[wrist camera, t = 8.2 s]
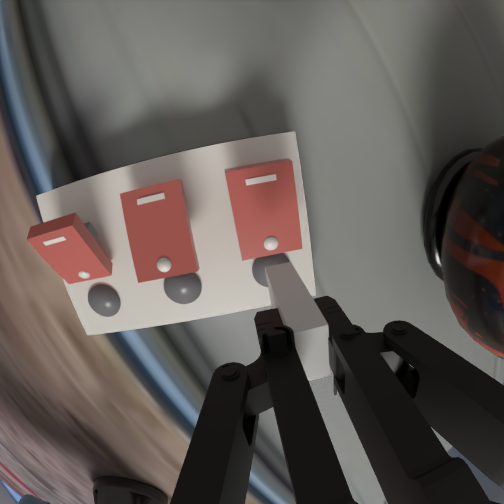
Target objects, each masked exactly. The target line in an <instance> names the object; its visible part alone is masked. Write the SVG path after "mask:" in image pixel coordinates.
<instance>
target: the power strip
mask: <svg viewBox="0 0 504 504" xmlns="http://www.w3.org/2000/svg"><path fill="white" fill-rule="evenodd" d="M286 158H289V159H290V160H292V163H293V171H294V178H295V186H296V194H297V203H298V211H299V220H300V229H301V238H302V248H303V249H299V250H294V251H289V252H284V253H279V254H274V255H269V256H264V257H259V258H254V259H249V260H244V261H242V257H241V252H240V247H239V242H238V237H237V232H236V227H235V222H234V217H233V212H232V207H231V202H230V197H229V192H228V186H227V181H226V176H225V171H224V169H228V168H233V167H239V166H244V165H250V164H255V163H261V162H267V161H273V160H279V159H286ZM177 179H180V180H182V182H183V188H184V193H185V199H186V204H187V209H188V214H189V220H190V225H191V230H192V235H193V239H194V244H195V249H196V254H197V259H198V263H199V268H200V269H199V270H198V272H193V273H188V274H183V275H178V276H172V277H167V278H162V279H157V280H152V281H146V282H141V283H138V280H137V276H136V272H135V268H134V263H133V259H132V254H131V250H130V245H129V240H128V235H127V230H126V225H125V220H124V215H123V209H122V203H121V198H120V194H121V193H124V192H128V191H132V190H136V189H140V188H144V187H147V186H151V185H156V184H160V183H164V182H168V181H172V180H177ZM36 198H37V201H38V205H39V209H40V212H41V216H42V219H43V223H44V222H47V221H50V220H53V219H56V218H59V217H62V216H66V215H69V214H72V213H75V212H76V213H77V215H78V216H79V218H80V219H81V221H82V222H83V223H87V222H90V223H91V224H92V226H93V227H94V229H95V230H96V232H97V238H96V242H97V243H98V244H99V246H100V247H101V249H102V250H103V251H104V253H105V254H106V255H107V257H108V258H109V259H110V261H111V262H112V263H113V266H112V276H107V277H102V278H97V279H93V280H88V281H83V282H78V283H73V284H68V283H67V282H66V281H65V280H64V279H63V281H64V283H65V286H66V288H67V291H68V293H69V296H70V298H71V300H72V303H73V305H74V307H75V310H76V312H77V314H78V316H79V319H80V321H81V323H82V325H83V327H84V329H85V331H86V334H87V335H95V334H103V333H111V332H118V331H126V330H133V329H140V328H146V327H153V326H159V325H166V324H172V323H178V322H184V321H190V320H196V319H202V318H207V317H213V316H218V315H224V314H229V313H234V312H240V311H245V310H250V309H255V308H260V307H265V306H270V305H271V301H270V295H269V289H268V283H267V277H266V271H265V267H268V266H273V265H278V264H283V263H287V262H291V263H292V264H293V266H294V268H295V269H296V271H297V273H298V274H299V276H300V278H301V279H302V281H303V283H304V284H305V286H306V288H307V289H308V291H309V293H310V294H311V296H316V293H315V282H314V272H313V262H312V252H311V243H310V234H309V226H308V218H307V210H306V202H305V195H304V187H303V180H302V173H301V166H300V159H299V153H298V147H297V140H296V134H295V132H286V133H278V134H272V135H265V136H259V137H253V138H247V139H241V140H236V141H230V142H225V143H220V144H215V145H210V146H205V147H200V148H196V149H191V150H187V151H182V152H178V153H174V154H170V155H166V156H161V157H157V158H154V159H150V160H146V161H142V162H138V163H135V164H131V165H128V166H124V167H121V168H117V169H114V170H110V171H107V172H104V173H101V174H97V175H94V176H91V177H88V178H85V179H82V180H79V181H76V182H73V183H70V184H67V185H64V186H61V187H59V188H56V189H53V190H50V191H48V192H45V193H43V194H40V195H37V196H36Z"/></svg>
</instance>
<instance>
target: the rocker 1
mask: <svg viewBox="0 0 504 504" xmlns="http://www.w3.org/2000/svg"><path fill="white" fill-rule="evenodd" d="M96 238H97V232H96V230H95V229H94V227H93V226H92V224H91V223H90V222H87V223H83V222H82V221H81V219H80V218H79V216H78V215H77V213H76V212H75V213H72V214H69V215H66V216H62V217H59V218H56V219H53V220H50V221H47V222H44V223H41V224H38V225H35V226H32V227H30V230H29V233H28V237H27V240H28V242H29V243H30V244H31V245H32V246H33V247H34V248H35V249H36V250H37V252H38V253H39V254H40V255H41V256H42V257H43V258H44V259H45V260H46V261H47V262H48V263H49V264H50V265H51V267H52V268H53V269H54V270H55V271H56V272H57V273H58V274H59V275H60V276H61V277H62V278H63V279H64V280H65V281H66V282H67V283H68V284H73V283H78V282H83V281H88V280H93V279H97V278H102V277H107V276H112V266H113V263H112V262H111V261H110V259H109V258H108V257H107V255H106V254H105V253H104V251H103V250H102V249H101V247H100V246H99V244H98V243H97V242H96Z"/></svg>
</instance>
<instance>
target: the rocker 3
mask: <svg viewBox="0 0 504 504" xmlns="http://www.w3.org/2000/svg"><path fill="white" fill-rule="evenodd" d="M224 171H225V176H226V181H227V186H228V192H229V197H230V202H231V207H232V212H233V217H234V222H235V227H236V232H237V237H238V242H239V247H240V252H241V257H242V261H244V260H249V259H254V258H259V257H264V256H269V255H274V254H279V253H284V252H289V251H294V250H299V249H303V248H302V238H301V229H300V220H299V211H298V203H297V194H296V186H295V178H294V171H293V163H292V160H290V159H289V158H286V159H279V160H273V161H267V162H261V163H255V164H250V165H244V166H239V167H233V168H228V169H224Z"/></svg>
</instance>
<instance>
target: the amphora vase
mask: <svg viewBox="0 0 504 504" xmlns="http://www.w3.org/2000/svg"><path fill="white" fill-rule="evenodd" d="M424 246H425V250H426V254H427V258H428V262H429V264H430V265H431V267H432V269H433V271H434V272H435V274H436V275H437V276H438V277H439V278H440V279H441V280H443V281H444V284H445V290H446V297H447V299H448V301H449V303H450V305H451V308H452V310H453V312H454V314H455V316H456V318H457V320H458V322H459V324H460V326H461V327H462V328H463V329H464V330H465V331H466V332H467V333H468V334H469V335H470V336H471V337H472V338H473V340H475V341H476V342H477V343H479V344H480V345H481V346H482V347H484V348H485V349H487V350H489V351H490V352H492V353H493V354H495V355H496V356H498V357H500V358H501V359H504V136H502V137H500V138H498V139H497V140H495V141H493V142H492V143H490V144H488V145H487V146H486V147H485V148H477V149H469V150H465V151H463V152H462V153H460V154H458V155H456V156H455V157H454V158H453V159H452V160H451V161H450V162H449V163H448V164H447V165H446V166H445V167H444V168H443V170H442V172H441V174H440V175H439V177H438V179H437V181H436V182H435V184H434V186H433V189H432V192H431V195H430V198H429V201H428V204H427V209H426V215H425V222H424Z"/></svg>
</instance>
